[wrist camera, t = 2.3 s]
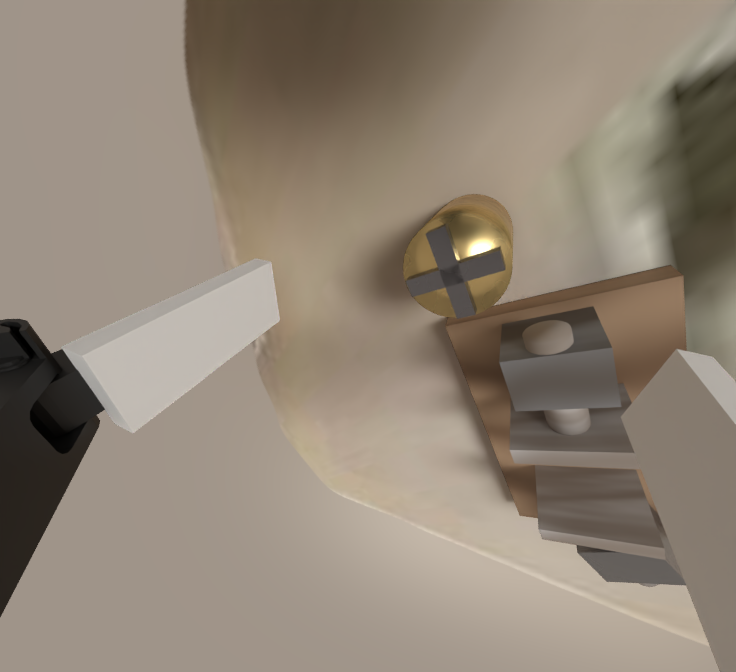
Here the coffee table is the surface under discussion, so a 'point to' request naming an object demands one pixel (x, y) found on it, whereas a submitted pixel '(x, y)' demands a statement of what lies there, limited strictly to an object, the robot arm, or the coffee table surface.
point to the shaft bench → (625, 326)
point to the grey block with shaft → (636, 563)
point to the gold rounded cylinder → (461, 257)
